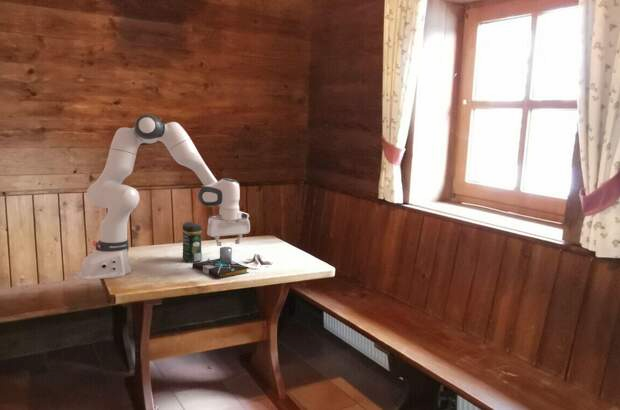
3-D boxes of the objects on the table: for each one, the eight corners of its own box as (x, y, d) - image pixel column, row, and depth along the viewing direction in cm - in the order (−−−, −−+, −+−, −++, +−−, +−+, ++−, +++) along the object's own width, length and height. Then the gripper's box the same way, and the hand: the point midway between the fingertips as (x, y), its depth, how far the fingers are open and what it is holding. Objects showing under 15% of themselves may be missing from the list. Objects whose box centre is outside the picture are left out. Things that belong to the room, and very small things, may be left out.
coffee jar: (180, 259, 253) (180, 221, 250) (195, 256, 258) (195, 220, 255) (188, 263, 245) (188, 225, 242) (204, 261, 250) (204, 223, 247)
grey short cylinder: (223, 264, 234) (224, 250, 233) (217, 261, 238) (217, 247, 237) (233, 262, 238) (234, 248, 237) (227, 259, 242) (227, 246, 241)
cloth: (248, 272, 237) (248, 259, 236) (231, 262, 252) (231, 250, 251) (290, 267, 249) (290, 254, 248) (271, 257, 264) (272, 246, 263)
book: (192, 269, 239) (192, 258, 238) (223, 263, 250) (223, 253, 249) (217, 281, 223) (217, 269, 222) (249, 274, 234) (250, 263, 233)
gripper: (211, 217, 225) (210, 248, 226) (252, 214, 237) (251, 244, 239) (204, 214, 229) (204, 245, 231) (245, 212, 242) (244, 241, 244)
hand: (228, 244), depth 235 cm, fingers open, 8 cm apart
